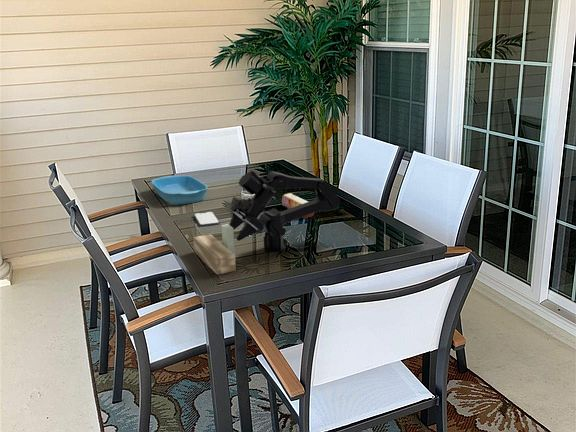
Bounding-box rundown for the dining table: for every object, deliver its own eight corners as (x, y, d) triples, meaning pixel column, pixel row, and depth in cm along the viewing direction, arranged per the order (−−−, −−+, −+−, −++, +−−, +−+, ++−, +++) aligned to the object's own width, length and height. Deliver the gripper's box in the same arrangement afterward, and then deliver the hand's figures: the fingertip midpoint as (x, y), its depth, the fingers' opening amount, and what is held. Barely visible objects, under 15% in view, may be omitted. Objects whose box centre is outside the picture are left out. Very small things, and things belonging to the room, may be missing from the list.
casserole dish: (214, 202, 276) (213, 188, 273) (169, 210, 266) (167, 195, 264) (189, 186, 307) (188, 172, 305) (147, 191, 297) (146, 178, 295)
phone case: (220, 226, 244) (212, 214, 258) (220, 222, 243) (212, 211, 258) (199, 228, 241) (193, 216, 255) (199, 225, 241) (192, 213, 255)
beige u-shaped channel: (211, 248, 217) (210, 234, 215) (235, 270, 196) (234, 254, 194) (194, 251, 214) (193, 237, 212) (217, 274, 193) (216, 258, 192)
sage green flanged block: (229, 254, 210) (227, 223, 207) (235, 260, 205) (233, 228, 202) (208, 258, 207) (206, 227, 203) (214, 264, 202) (212, 232, 198)
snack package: (280, 207, 267) (280, 193, 265) (293, 205, 269) (293, 191, 267) (301, 219, 248) (301, 204, 246) (315, 217, 251) (315, 202, 249)
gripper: (233, 183, 211) (207, 216, 209) (254, 194, 195) (226, 231, 194) (254, 200, 217) (228, 233, 215) (276, 213, 201) (248, 248, 199)
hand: (232, 236), depth 206 cm, fingers open, 9 cm apart
